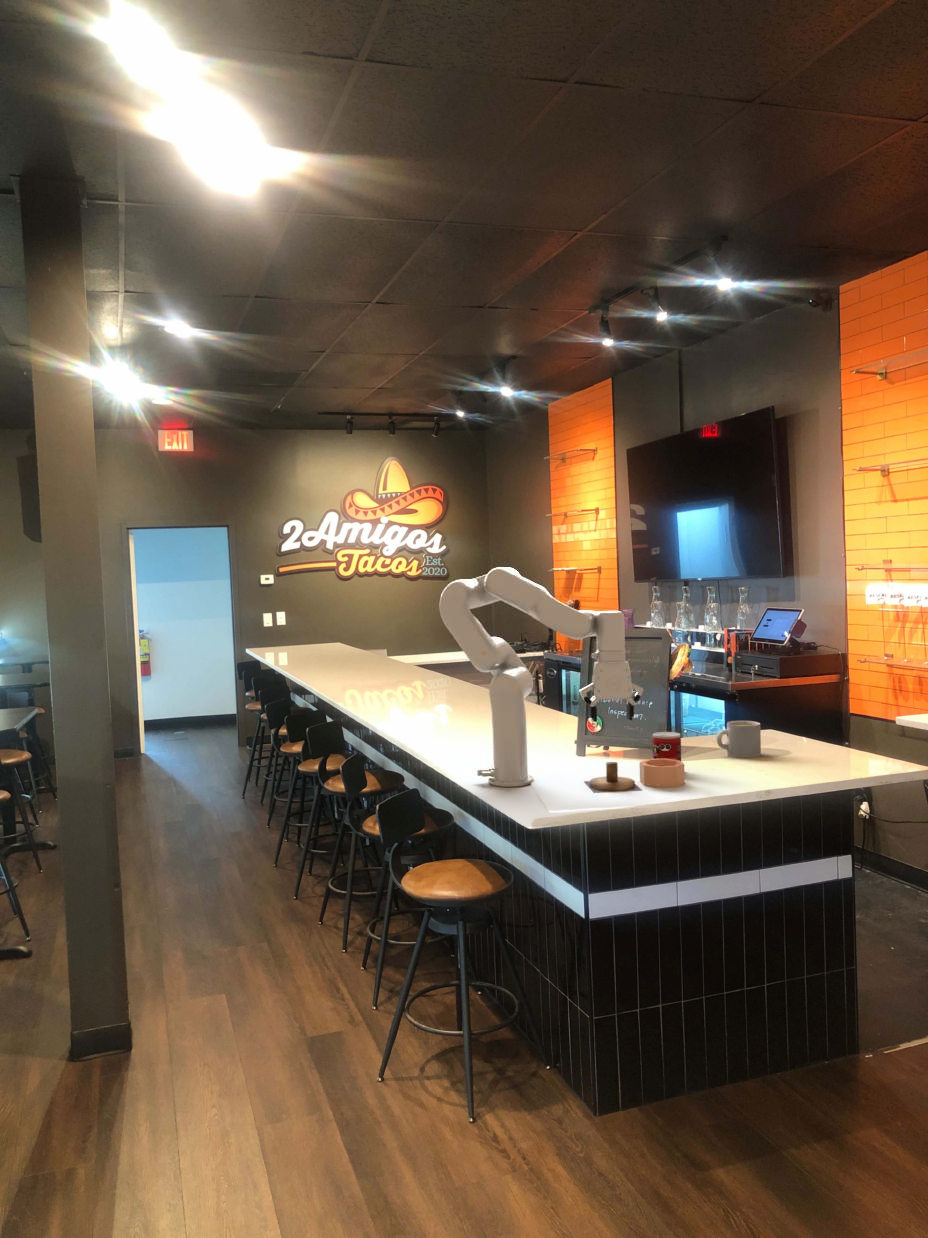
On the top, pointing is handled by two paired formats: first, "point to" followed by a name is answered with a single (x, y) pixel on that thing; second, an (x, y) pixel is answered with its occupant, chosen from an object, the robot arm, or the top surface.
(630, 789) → the mat
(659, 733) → the canned food
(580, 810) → the top surface
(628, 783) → the lid
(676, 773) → the bowl
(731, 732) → the coffee mug
